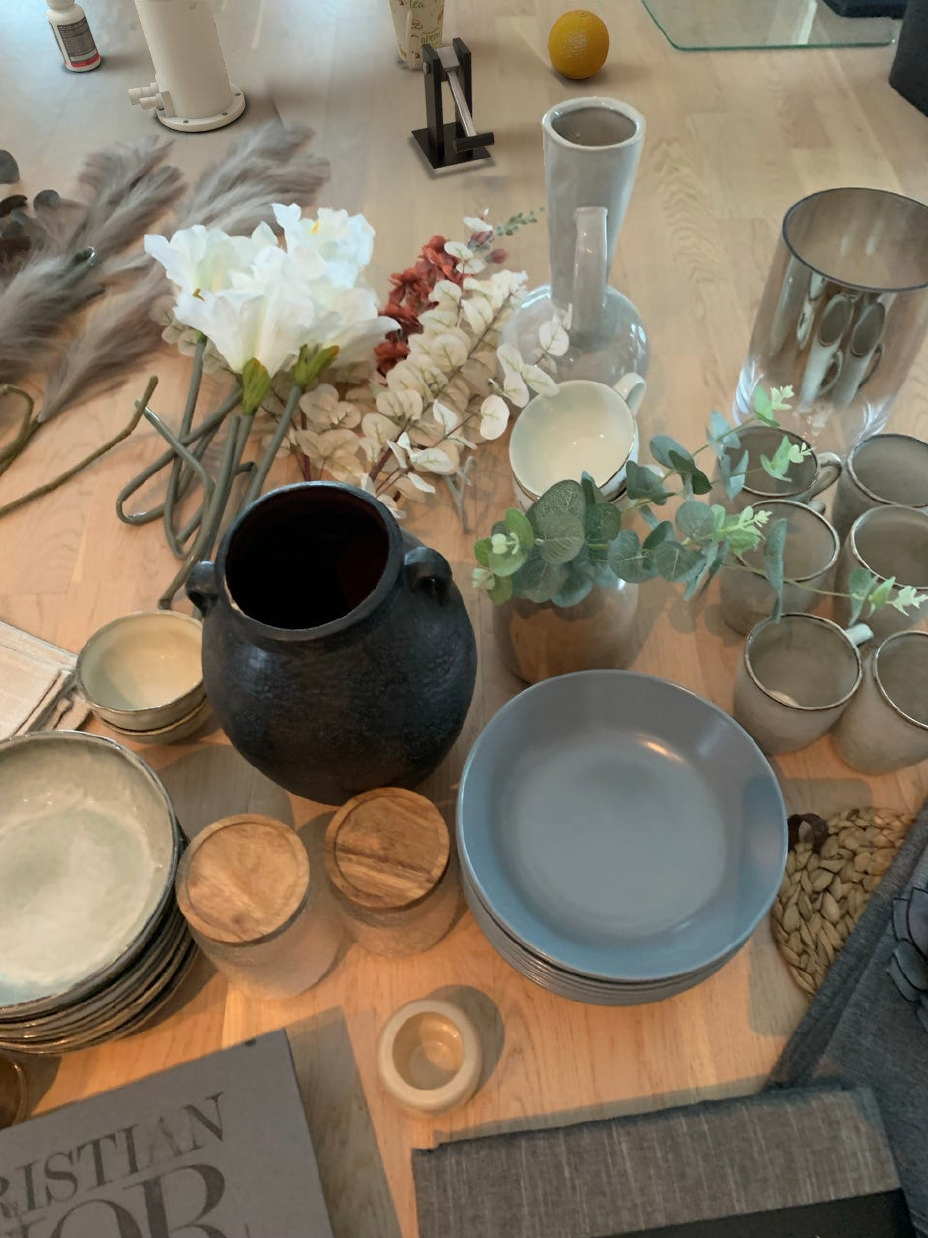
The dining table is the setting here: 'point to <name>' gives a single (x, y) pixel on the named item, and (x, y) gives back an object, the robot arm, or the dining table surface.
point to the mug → (417, 26)
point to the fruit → (578, 44)
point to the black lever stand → (438, 135)
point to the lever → (461, 103)
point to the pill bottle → (72, 35)
